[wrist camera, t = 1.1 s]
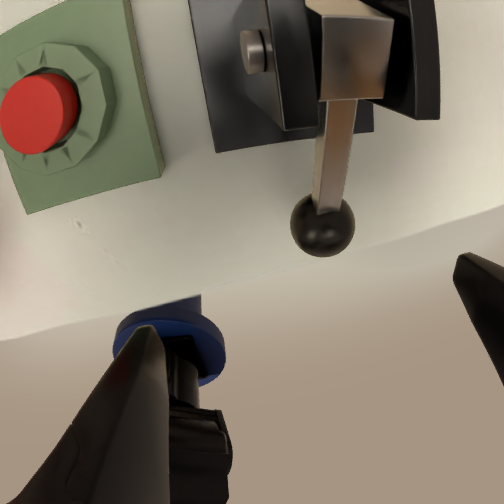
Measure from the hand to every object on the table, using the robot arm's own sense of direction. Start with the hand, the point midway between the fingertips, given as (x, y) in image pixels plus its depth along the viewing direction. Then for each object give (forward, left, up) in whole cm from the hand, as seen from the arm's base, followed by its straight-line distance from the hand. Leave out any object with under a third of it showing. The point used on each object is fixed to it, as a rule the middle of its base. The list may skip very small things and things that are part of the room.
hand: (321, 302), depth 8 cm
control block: (+6, +10, -12) cm, 17 cm away
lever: (+3, -2, -7) cm, 8 cm away
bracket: (+6, -2, -12) cm, 14 cm away
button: (+6, +10, -9) cm, 15 cm away
